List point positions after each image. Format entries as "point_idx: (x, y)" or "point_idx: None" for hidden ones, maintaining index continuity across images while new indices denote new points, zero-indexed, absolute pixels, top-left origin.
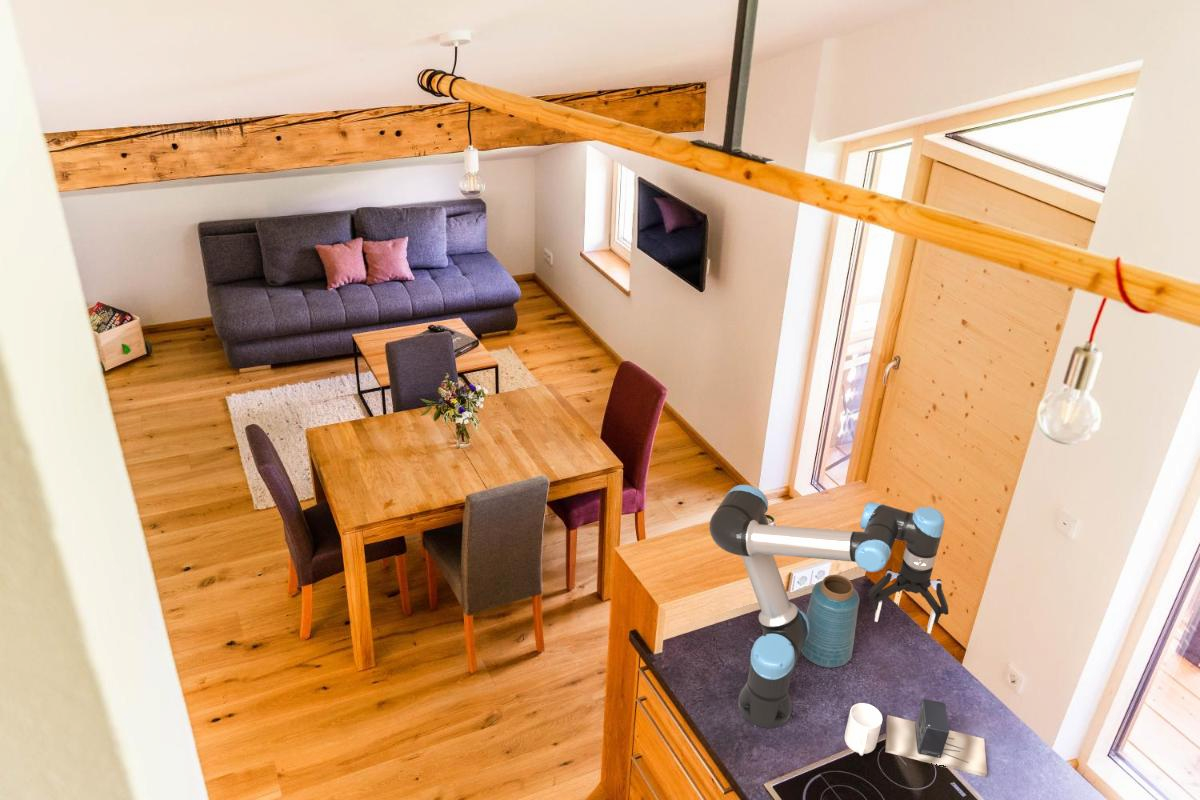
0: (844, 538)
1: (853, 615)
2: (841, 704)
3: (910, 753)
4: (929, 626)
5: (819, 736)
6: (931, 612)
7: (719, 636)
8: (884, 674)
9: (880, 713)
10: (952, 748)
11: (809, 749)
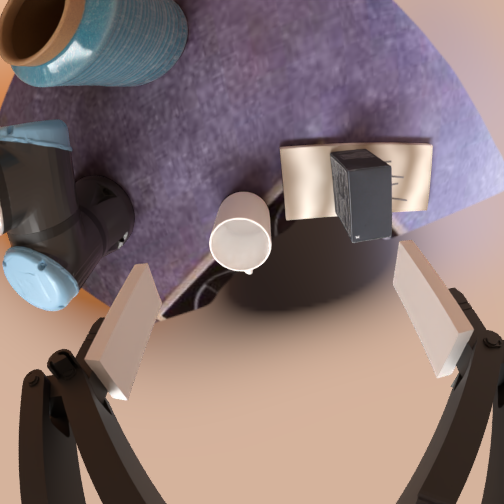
0: None
1: (124, 34)
2: (197, 149)
3: (324, 215)
4: (407, 311)
5: (184, 228)
6: (442, 323)
7: (7, 121)
8: (259, 40)
9: (265, 231)
10: None
11: (179, 255)
